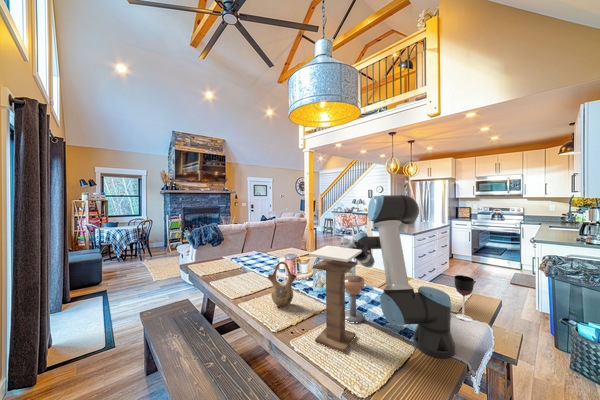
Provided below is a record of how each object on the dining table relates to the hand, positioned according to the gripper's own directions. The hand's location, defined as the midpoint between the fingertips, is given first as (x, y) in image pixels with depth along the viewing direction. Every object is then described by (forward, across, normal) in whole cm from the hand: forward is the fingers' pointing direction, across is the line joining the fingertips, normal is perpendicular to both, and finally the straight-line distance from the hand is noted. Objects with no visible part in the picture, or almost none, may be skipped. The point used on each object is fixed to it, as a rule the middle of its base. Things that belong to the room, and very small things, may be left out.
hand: (346, 239), depth 113 cm
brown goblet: (-27, 0, -32) cm, 42 cm away
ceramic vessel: (-20, +38, -36) cm, 56 cm away
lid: (+3, 0, -6) cm, 7 cm away
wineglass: (-52, -47, -18) cm, 72 cm away
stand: (-9, 0, -42) cm, 43 cm away
